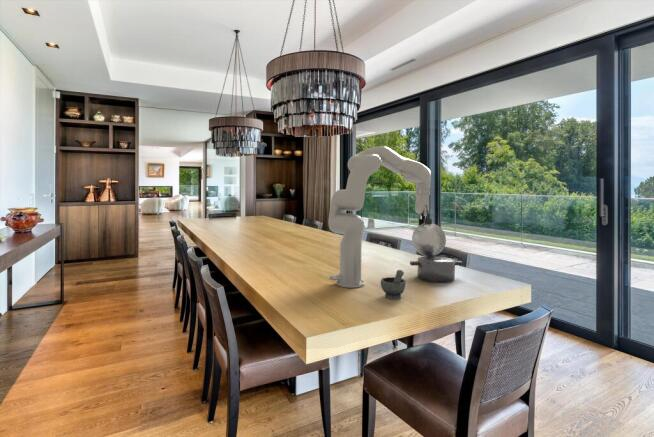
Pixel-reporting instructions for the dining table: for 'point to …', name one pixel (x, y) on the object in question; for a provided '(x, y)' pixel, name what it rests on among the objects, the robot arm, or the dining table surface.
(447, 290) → the dining table surface
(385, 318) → the dining table surface
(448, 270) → the pot
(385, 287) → the mortar and pestle
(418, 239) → the pot lid
